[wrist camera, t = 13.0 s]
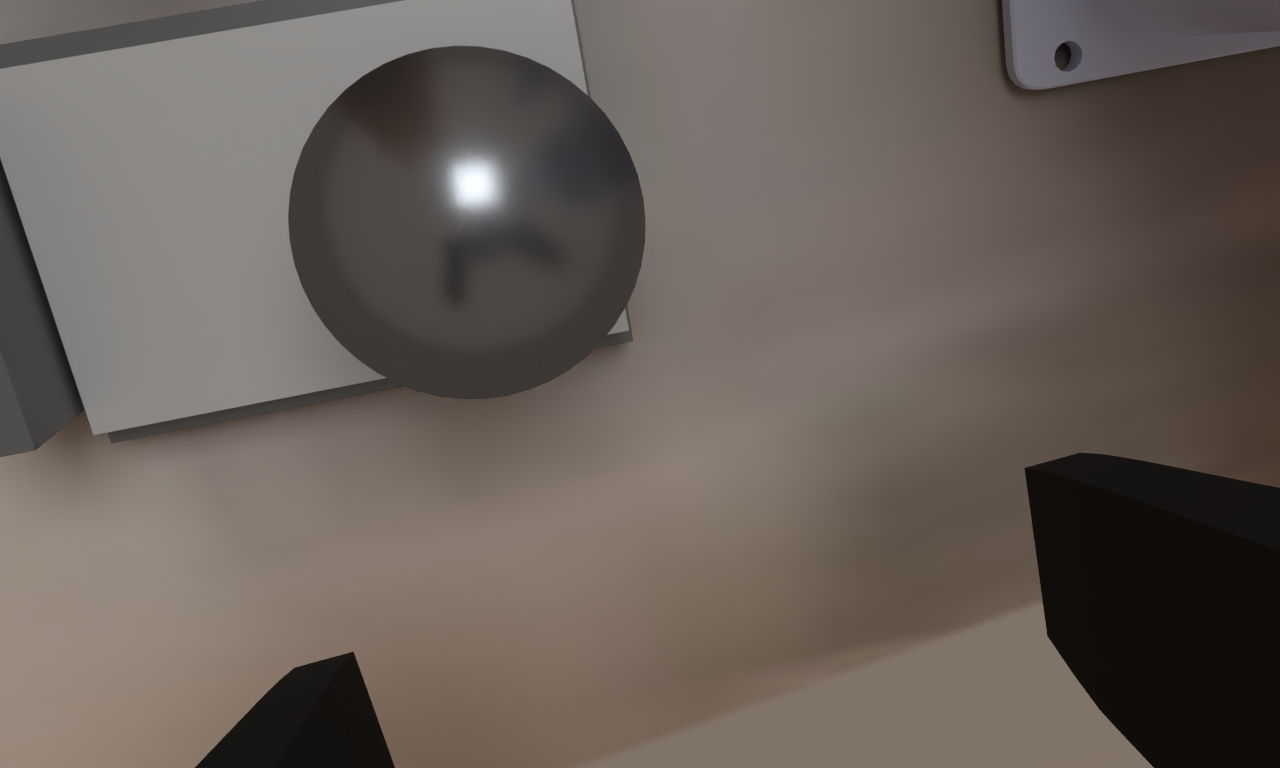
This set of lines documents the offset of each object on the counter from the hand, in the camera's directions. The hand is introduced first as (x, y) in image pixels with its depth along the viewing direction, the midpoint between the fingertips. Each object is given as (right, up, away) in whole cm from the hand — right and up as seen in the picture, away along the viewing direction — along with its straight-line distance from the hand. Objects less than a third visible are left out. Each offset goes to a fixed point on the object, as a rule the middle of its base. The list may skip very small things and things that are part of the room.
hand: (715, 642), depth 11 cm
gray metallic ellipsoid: (-3, +6, +6) cm, 9 cm away
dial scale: (-6, +6, +8) cm, 12 cm away
